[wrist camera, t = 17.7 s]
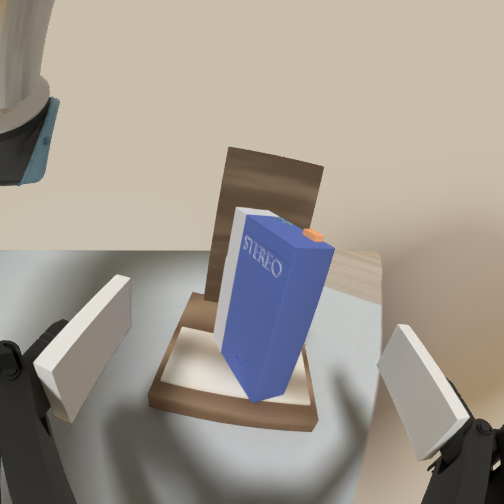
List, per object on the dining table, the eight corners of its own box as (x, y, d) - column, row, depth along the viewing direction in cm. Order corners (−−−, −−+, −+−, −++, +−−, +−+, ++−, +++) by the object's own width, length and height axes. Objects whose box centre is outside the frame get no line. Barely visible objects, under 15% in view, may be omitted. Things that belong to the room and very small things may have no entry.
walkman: (284, 394, 19) (337, 242, 15) (251, 403, 18) (297, 240, 14) (240, 334, 26) (268, 204, 22) (212, 337, 24) (234, 201, 20)
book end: (311, 431, 18) (413, 192, 12) (149, 406, 17) (160, 136, 12) (294, 322, 33) (335, 169, 27) (191, 303, 32) (214, 144, 26)
